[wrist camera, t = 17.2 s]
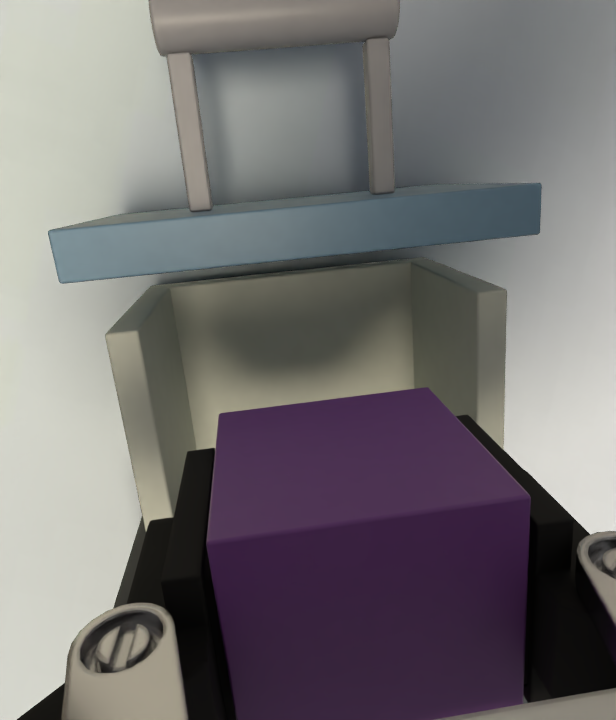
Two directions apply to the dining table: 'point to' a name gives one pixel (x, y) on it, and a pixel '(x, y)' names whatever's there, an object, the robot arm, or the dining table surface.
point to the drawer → (292, 288)
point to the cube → (366, 562)
